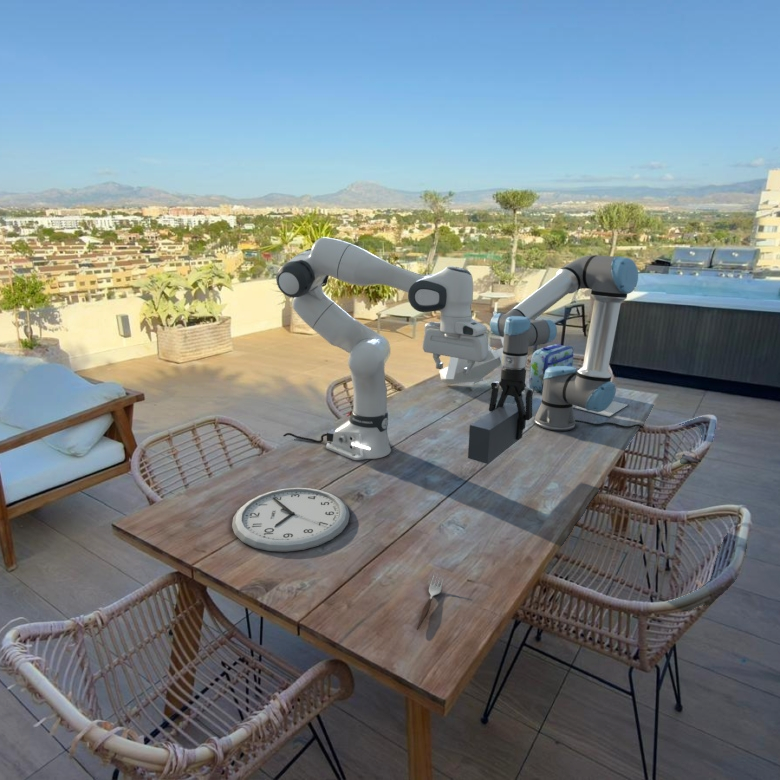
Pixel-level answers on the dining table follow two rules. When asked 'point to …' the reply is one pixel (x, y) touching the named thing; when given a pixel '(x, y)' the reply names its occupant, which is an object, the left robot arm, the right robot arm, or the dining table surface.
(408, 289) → the left robot arm
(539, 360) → the lunch box
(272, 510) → the wall clock
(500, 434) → the box
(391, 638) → the dining table surface
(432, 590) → the fork
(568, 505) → the dining table surface
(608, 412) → the invitation card
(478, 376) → the white plastic object
